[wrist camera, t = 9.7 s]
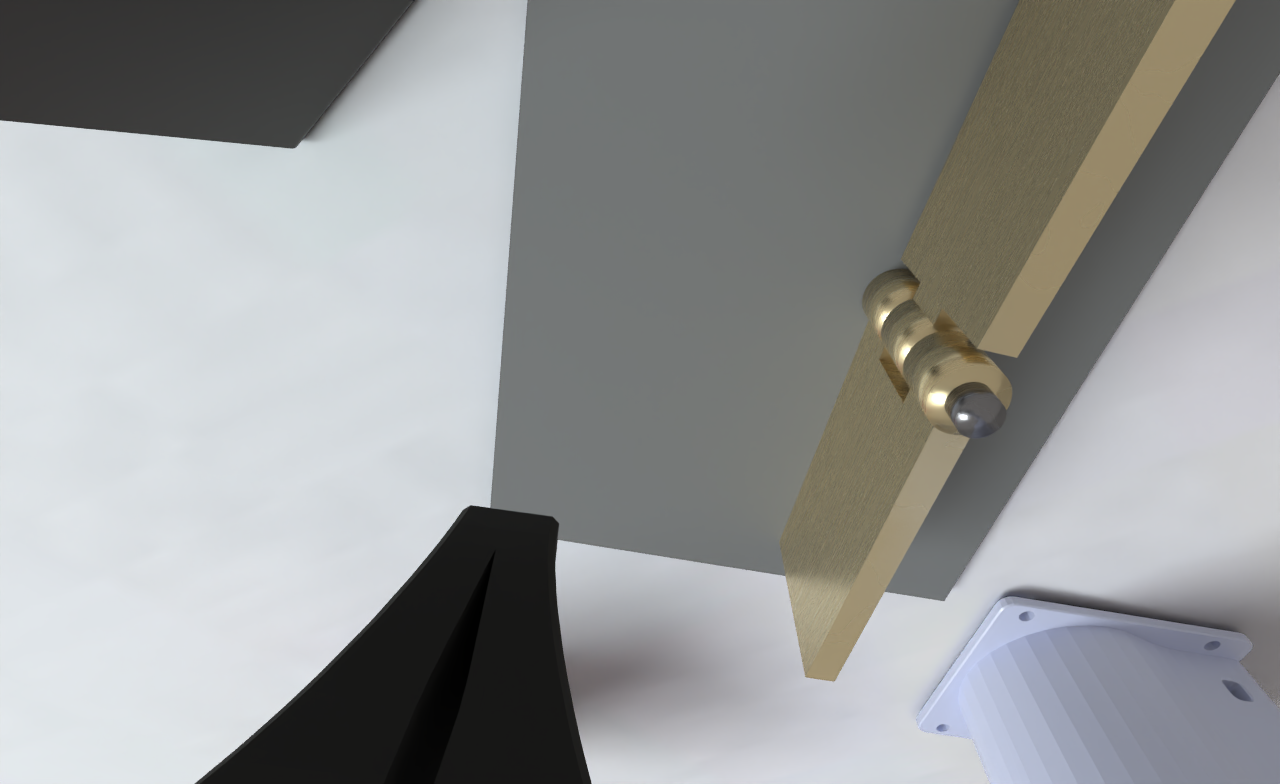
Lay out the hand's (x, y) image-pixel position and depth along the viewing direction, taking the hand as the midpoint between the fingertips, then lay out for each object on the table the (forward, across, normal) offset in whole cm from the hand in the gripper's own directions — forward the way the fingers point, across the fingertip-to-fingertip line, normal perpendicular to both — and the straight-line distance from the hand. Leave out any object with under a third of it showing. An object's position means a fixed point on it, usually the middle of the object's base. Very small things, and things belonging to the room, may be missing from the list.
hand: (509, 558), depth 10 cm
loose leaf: (+9, -8, -6) cm, 13 cm away
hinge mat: (+9, -6, -2) cm, 11 cm away
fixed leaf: (+9, -8, +2) cm, 12 cm away
